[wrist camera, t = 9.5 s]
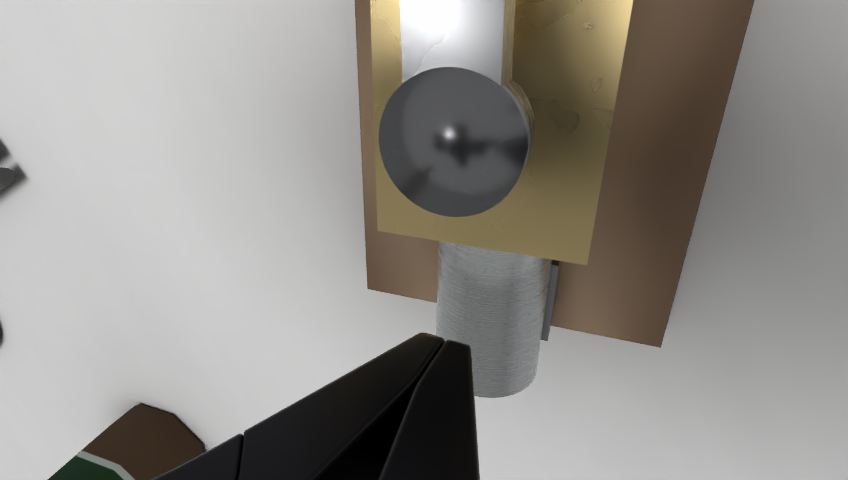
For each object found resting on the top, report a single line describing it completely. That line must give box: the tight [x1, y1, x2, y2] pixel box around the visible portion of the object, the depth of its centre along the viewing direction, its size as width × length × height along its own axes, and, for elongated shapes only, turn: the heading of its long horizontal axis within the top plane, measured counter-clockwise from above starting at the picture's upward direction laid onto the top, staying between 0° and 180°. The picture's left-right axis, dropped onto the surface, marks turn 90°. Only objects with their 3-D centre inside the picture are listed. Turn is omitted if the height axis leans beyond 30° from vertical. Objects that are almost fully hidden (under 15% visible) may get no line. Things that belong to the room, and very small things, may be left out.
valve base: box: [355, 0, 754, 398], centre depth 15 cm, size 12×19×9 cm, turn 178°
